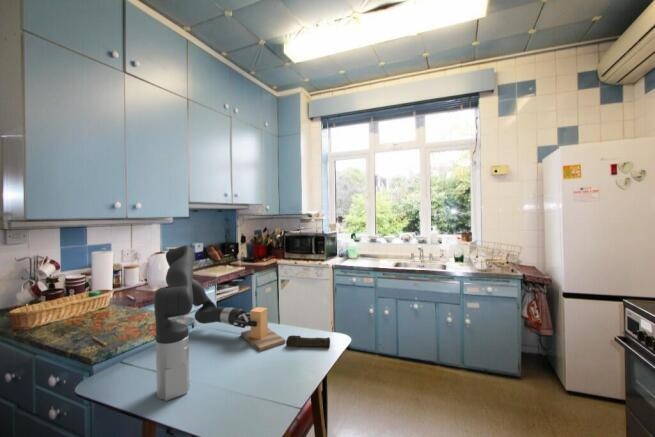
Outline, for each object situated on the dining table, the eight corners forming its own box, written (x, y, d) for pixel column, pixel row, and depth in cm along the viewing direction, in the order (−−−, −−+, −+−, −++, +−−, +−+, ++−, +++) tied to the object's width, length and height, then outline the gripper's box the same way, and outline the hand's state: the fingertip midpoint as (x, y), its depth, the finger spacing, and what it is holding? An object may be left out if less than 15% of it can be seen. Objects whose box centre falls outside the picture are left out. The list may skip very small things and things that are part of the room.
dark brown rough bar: (330, 345, 122) (330, 334, 122) (329, 349, 118) (329, 338, 118) (287, 343, 124) (287, 333, 124) (285, 347, 120) (285, 337, 120)
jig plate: (285, 342, 124) (285, 331, 124) (260, 351, 116) (259, 339, 116) (264, 328, 139) (264, 318, 139) (240, 335, 132) (240, 324, 132)
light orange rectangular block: (267, 334, 129) (267, 308, 129) (260, 339, 124) (260, 312, 124) (257, 332, 131) (257, 307, 131) (250, 337, 126) (250, 310, 126)
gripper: (222, 313, 126) (252, 318, 120) (242, 304, 140) (270, 307, 134) (222, 330, 126) (252, 335, 121) (242, 319, 140) (270, 323, 134)
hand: (262, 320), depth 127 cm, fingers open, 8 cm apart
